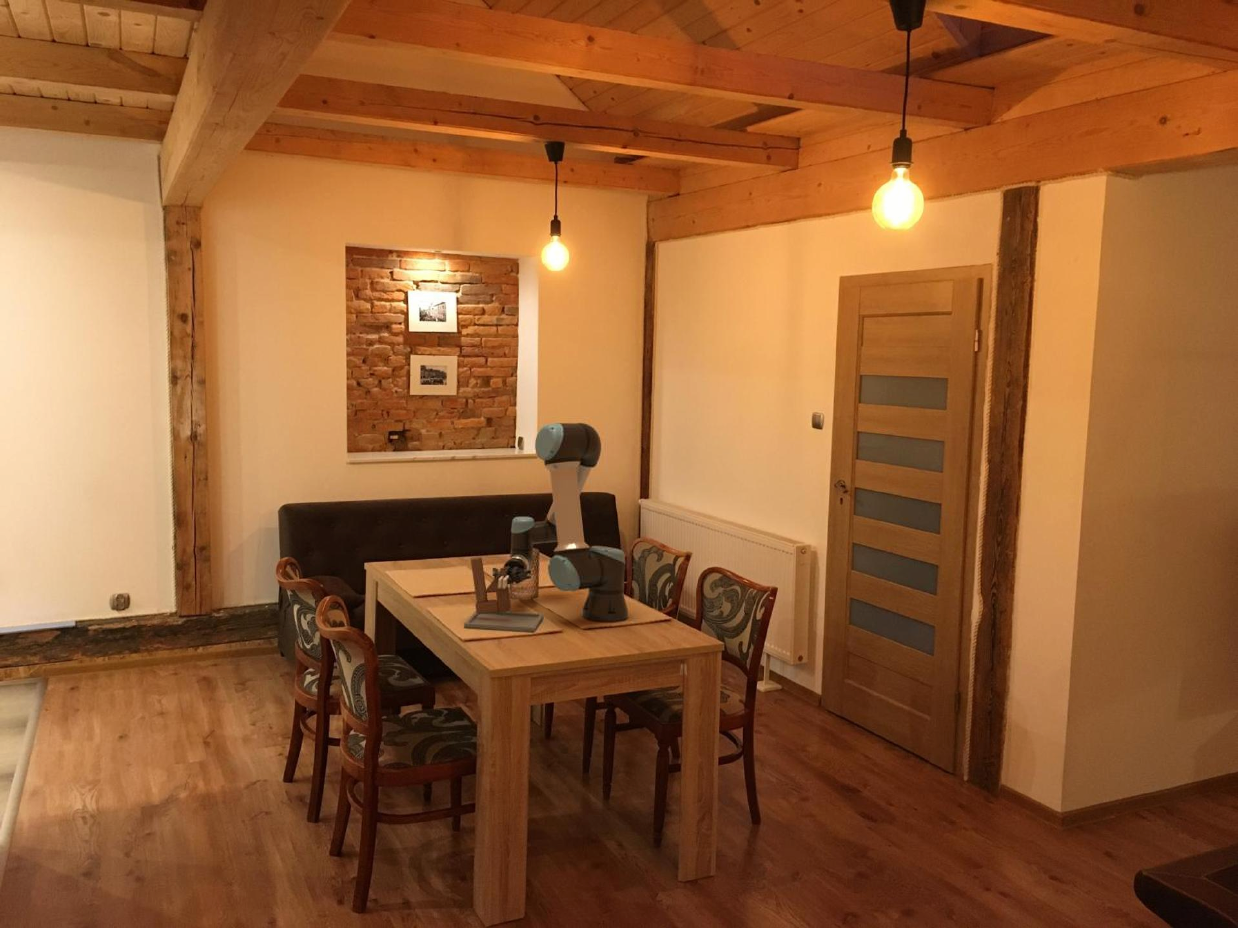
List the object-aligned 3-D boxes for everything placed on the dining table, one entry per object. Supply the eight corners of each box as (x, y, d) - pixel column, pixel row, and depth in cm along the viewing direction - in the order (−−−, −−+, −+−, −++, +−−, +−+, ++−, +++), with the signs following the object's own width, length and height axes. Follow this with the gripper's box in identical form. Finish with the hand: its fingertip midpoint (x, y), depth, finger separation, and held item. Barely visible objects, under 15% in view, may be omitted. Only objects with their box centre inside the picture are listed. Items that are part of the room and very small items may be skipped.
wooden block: (509, 611, 337) (501, 556, 335) (476, 614, 338) (468, 559, 336) (511, 608, 341) (504, 553, 339) (479, 611, 342) (471, 557, 340)
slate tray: (543, 618, 346) (543, 613, 346) (533, 632, 328) (533, 627, 328) (477, 614, 348) (477, 609, 348) (464, 627, 330) (464, 623, 330)
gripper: (535, 580, 354) (522, 597, 331) (495, 578, 355) (479, 594, 332) (536, 558, 353) (523, 573, 330) (496, 556, 355) (480, 570, 331)
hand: (501, 583), depth 331 cm, fingers closed on wooden block
